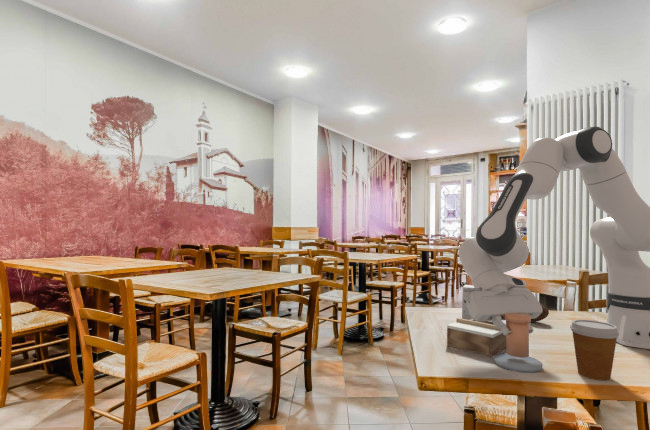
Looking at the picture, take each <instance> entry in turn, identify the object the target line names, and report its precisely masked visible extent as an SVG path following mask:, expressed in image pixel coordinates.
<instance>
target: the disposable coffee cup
mask: <svg viewBox="0 0 650 430" xmlns="http://www.w3.org/2000/svg"><path fill="white" fill-rule="evenodd" d="M569 328H570V330H571V333H572V338H573V344H574V345H573V347H574V353H575V359H576V368H577V373H578V375H580V376H582V377H584V378H587V379H591V380H596V381H609V380H611V377H612V370H613V365H614V358H615V351H616V346H617V342H616V339H617V337H618V335H619V332H618V330H617V327H616V326H614V325H612V324H609V323H606V322H603V321H598V320H590V319H574V320H572V322H571V324H570V326H569Z"/></svg>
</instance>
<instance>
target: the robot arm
mask: <svg viewBox="0 0 650 430" xmlns="http://www.w3.org/2000/svg"><path fill="white" fill-rule="evenodd" d="M576 169H579V172H580V175H581V177H582V180H583V182H584V184H585V187H586V189H587V191H588V193H589V196H590V198H591V200H592V202H593V205H594V206H595V207H596V208H597V209H599V210H601V211H603V212H604V213H606V214H607V215H608V216H607V217H602V218H600V219H597V220H595V221H594V222H593V223H592V224H591V226H590V230H589V235H590V239H591V240H592V242H593V243H594V244H596V246H598V248H599V249H600V251H601V253H602V254H603V257H604V260H605V263H606V266H607V277H608V292H607V293H606V299H605V301H606V302H605V303H606V305H605V306H606V309H607V315H606V320H605V323H609V324H612V325H614V326H616V327H617V330H618V332H619V335H618V337H617V339H616V343H617V344H619V345H622V346H626V347H632V348H639V349H645V350H650V266H649V265H647V264H646V263H645V262H644V261H643V259H642V258H641V256H640V252H650V205H648V204H647V203H646V201H644V199H643V198H642V197H641V196H640V195H639V193H638V192H637V190H636V188H635V186H634V185H633V182H632V180H631V178H630V177H629V174H628V172H627V170H626V168H625V166H624V164H623V162H622V160H621V159H620V157H619V155H618V154H617V153H616V151H615V150H614V149H613V140H612V136H611V135H610V134H609V132H608V131H606V130H605V129H603V128H602V127H600V126H588V127H584V128H581V129H580V130H579V129H578V130H575V131H571V132H568V133H565V134H563V135H561V136H558V137H557V138H553V137H540V138H537V139H535V140H534V141H532V142H531V143H530V145H529V146H528V147H527V149H526V151H525V153H524V154H523V156H522V158H521V160H520V161H519V164H518V166H517V169H516V172H515V173H514V175H512V176H511V177H510V179H509V180H508V181H507V183H506V185H505V186H504V188H503V190H502V192H501V193H500V196H499V197H498V199H497V201H496V203H495V205H494V207H493V208H492V210H491V212H490V213H489V214H488V216H487V217H486V218H485V219H483V221H482V222H481V223H480V224H479V226H478V228H477V230H476V233H475V236H474V237H473V236H472V237H469V238H467V239H466V240H464V241H463V242H462V243H461V244H460V245H459V247H458V257H459V260H460V264H461V265H462V267H463V269H464V271H465V273H466V275H467V276H468V277H469V278H470V279H471V284H472V285H473V286H474V288H472V289H471V288H467V289H465V290H464V291H463V290H462V296H464V298H465V300H466V303H467V307H468V310H469V312H470V315H471V317H472V319H474V320H475V321H476V322H481V321H492V322H493V324H494V325H495V326H497V327H498V328H499V329H500V330H501V331H502V333H503V334H504V335H510V334H511V333H512V330H511V328H510V327H509V326H506V325H505V324H506V323H504V321H505V320H504V314H505V313H519V312H522V313H526V314H529V315H531V319H535V318H537V317H538V316H539V315H540V314H541V313H542V306H541V305H540V304H541V303H540V302H539V300H538V298H537V297H536V296H535V294H534V293H533V291H532V290H531V289H529V288H526V287H527V286H528V285H527V283H526V280H524V279H521V278H516V277H513V276H510V275H508V274H507V273H508V272H510V271H513V270H515V269H517V268H520V267H522V266H523V265H525V263H526V262H527V261H528V259H529V257H530V249H529V247H528V245H527V243H526V242H525V241H524V239H523V238H522V236H520V234H519V232H518V230H517V227H516V225H517V224H516V221H517V217H518V215H519V213H520V212H521V210H522V207H523V205H524V203H525V202H526V200H540V199H541V200H542V199H543V198H546V197H549V195H550V194H551V192H553V190H554V188H555V186H556V183H557V181H558V179H559V175H560V173H561V172H567V171H573V170H576ZM505 273H506V274H505ZM532 333H534V328H533V327H532V323H529V335H530V334H532Z"/></svg>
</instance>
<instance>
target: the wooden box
mask: <svg viewBox="0 0 650 430" xmlns="http://www.w3.org/2000/svg"><path fill="white" fill-rule="evenodd" d="M470 320H471V321H475V320H474V319H470ZM481 322H482V323H487V324H492V325H494V324H493V322H492V321H481ZM504 324H505V325H506V323H504ZM446 328H447V327H446ZM446 333H447V334H446V346H449V347H453V348H456V349H457V348H458V349H462V350H465V351H469V352H473V353H476V354H481V355H485V356H489V357H493V358H494V355H496V354H499V353H503V351H506V335H504V334H503V333H501V334H499V335H497V336H495V337H493V338H492V337H487V336H482V335H478V334H473V333H469V332H464V331H460V330H455V329H450V328H447V329H446Z"/></svg>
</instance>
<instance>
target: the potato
mask: <svg viewBox="0 0 650 430" xmlns="http://www.w3.org/2000/svg"><path fill="white" fill-rule="evenodd" d="M540 305H541V306H542V313H541V314H540V315H539V316H538V317H537V318H535V319H531V322H532V323H535V322H540V321H542V320H544V319H546V318H547V317H548V316H549V314H550V312H549V309H548V308H547V306H545V305H543V304H542V303H540Z"/></svg>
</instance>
